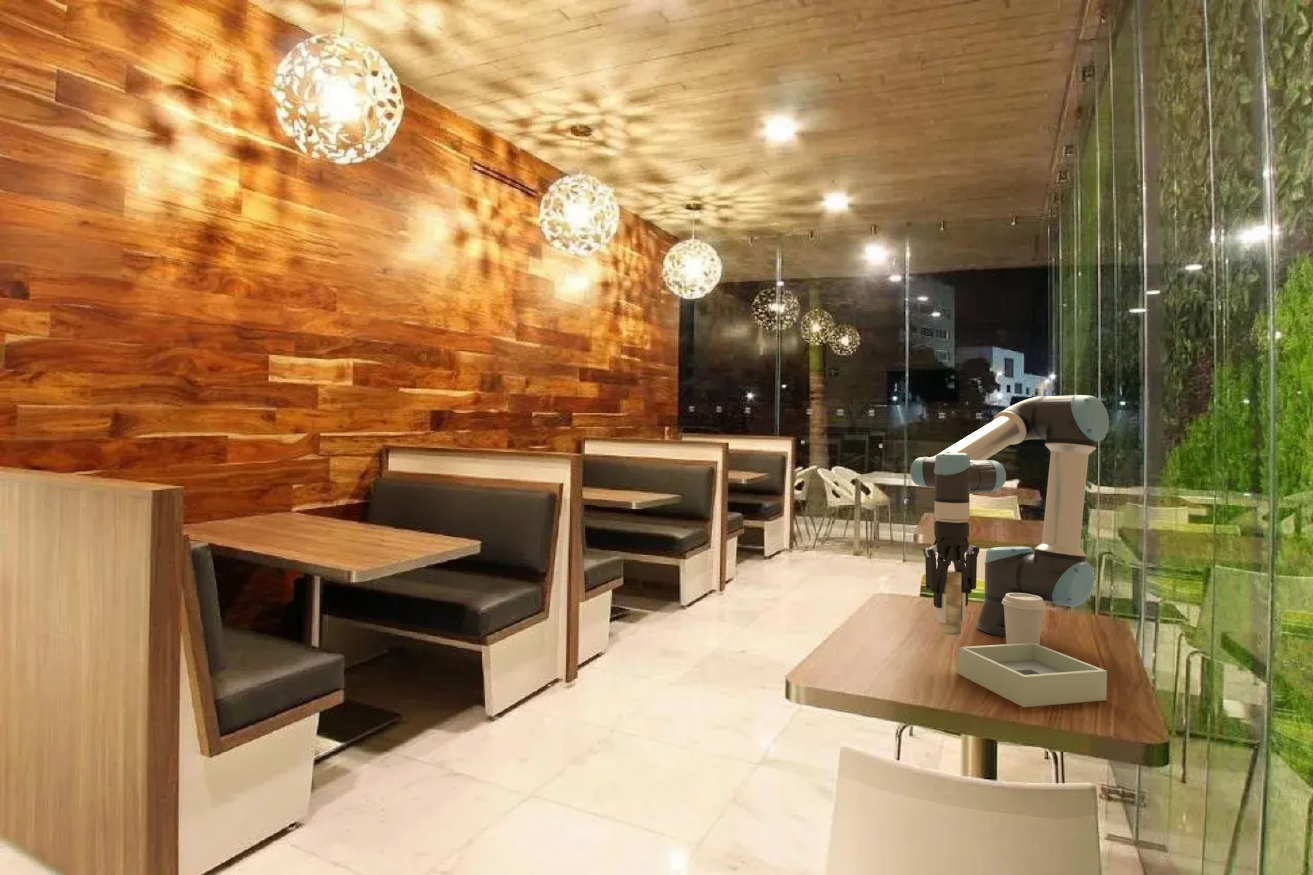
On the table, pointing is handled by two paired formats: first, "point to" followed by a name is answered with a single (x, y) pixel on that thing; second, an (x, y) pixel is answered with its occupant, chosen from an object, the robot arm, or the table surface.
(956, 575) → the peg
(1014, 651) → the grey-green open tray
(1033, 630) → the coffee cup
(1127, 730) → the table surface
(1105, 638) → the table surface
